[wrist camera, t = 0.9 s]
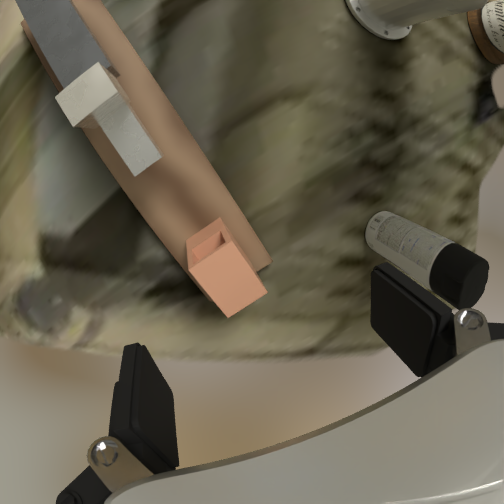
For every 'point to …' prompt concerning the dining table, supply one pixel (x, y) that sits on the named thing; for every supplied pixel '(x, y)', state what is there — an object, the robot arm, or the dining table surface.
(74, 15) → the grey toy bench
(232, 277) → the socket
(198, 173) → the base board
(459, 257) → the spray can
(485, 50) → the wooden container
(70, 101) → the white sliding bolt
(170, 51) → the dining table surface
